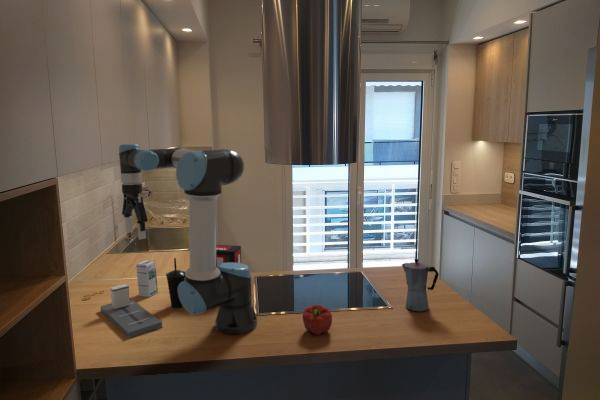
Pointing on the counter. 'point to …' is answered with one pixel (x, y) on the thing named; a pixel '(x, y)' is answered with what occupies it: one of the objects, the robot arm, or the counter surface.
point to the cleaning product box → (227, 254)
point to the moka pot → (418, 285)
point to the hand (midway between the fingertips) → (135, 235)
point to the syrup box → (147, 278)
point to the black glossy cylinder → (175, 285)
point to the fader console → (131, 319)
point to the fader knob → (120, 296)
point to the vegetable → (317, 319)
